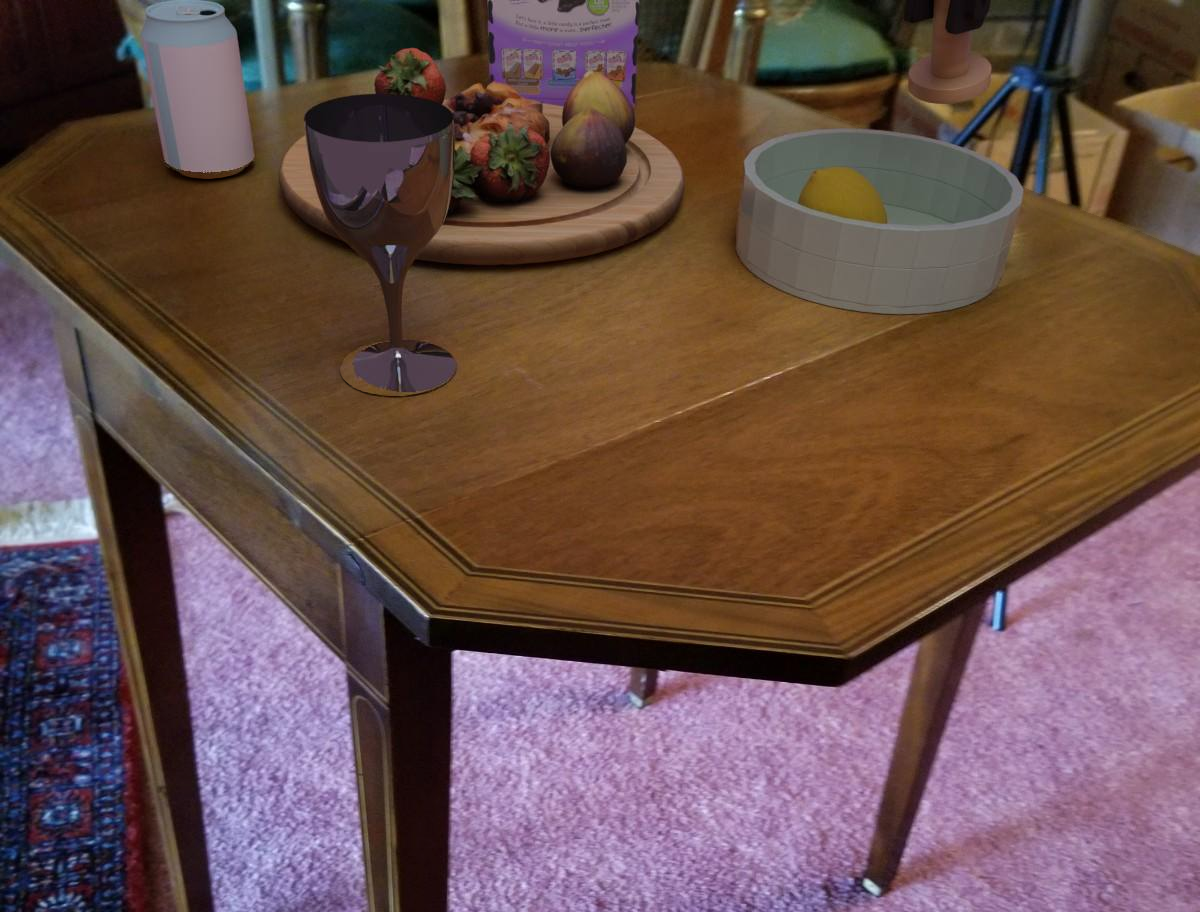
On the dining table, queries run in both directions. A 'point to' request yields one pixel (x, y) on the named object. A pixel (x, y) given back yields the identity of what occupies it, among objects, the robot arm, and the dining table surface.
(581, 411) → the dining table surface
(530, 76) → the candy box
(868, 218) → the lemon
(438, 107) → the wine glass
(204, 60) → the can
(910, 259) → the bowl
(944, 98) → the stirrer
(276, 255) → the dining table surface
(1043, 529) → the dining table surface
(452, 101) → the wooden plate
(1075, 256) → the dining table surface
